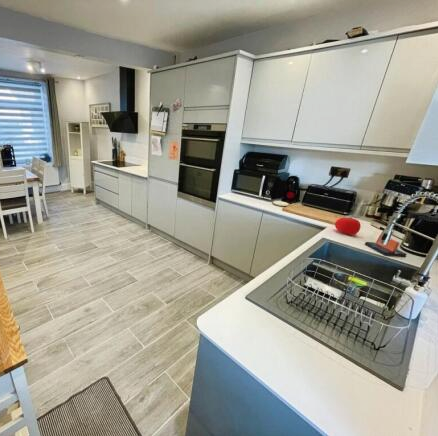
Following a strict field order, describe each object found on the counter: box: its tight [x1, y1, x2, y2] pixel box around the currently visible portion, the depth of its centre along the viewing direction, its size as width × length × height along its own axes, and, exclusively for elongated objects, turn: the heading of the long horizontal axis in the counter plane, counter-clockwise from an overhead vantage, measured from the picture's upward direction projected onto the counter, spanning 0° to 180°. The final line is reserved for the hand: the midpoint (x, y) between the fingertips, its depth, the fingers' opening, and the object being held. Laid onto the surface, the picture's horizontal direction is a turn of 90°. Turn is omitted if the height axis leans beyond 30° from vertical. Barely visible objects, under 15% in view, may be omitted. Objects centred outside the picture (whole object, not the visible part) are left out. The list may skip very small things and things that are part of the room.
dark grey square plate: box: [364, 241, 408, 258], centre depth 144 cm, size 15×15×2 cm
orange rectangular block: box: [376, 233, 400, 252], centre depth 142 cm, size 11×2×6 cm, turn 178°
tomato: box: [334, 216, 361, 236], centre depth 166 cm, size 12×14×11 cm
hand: (409, 215), depth 139 cm, fingers closed
